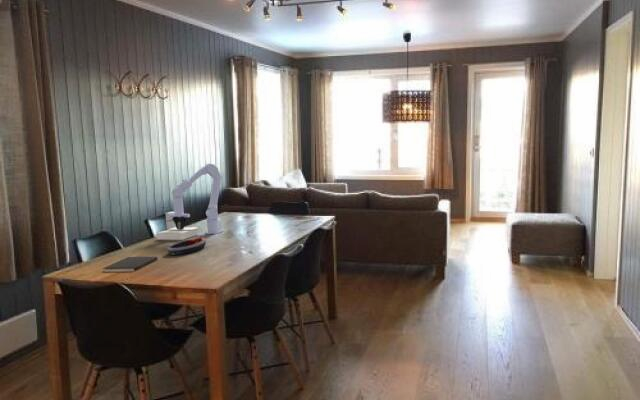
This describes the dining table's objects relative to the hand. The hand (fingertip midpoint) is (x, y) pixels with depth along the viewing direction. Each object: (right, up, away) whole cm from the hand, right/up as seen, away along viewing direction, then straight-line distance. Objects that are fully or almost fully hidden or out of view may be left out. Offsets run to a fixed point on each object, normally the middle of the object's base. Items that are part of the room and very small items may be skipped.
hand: (180, 228), depth 335 cm
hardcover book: (-5, -15, -73) cm, 75 cm away
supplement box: (-10, -3, +26) cm, 28 cm away
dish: (+16, -10, -43) cm, 47 cm away
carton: (-1, -6, -3) cm, 6 cm away
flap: (+1, 0, +3) cm, 3 cm away
